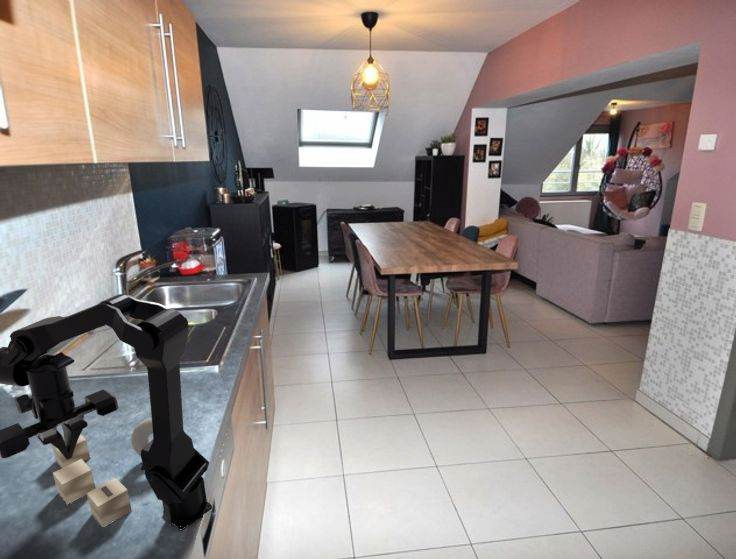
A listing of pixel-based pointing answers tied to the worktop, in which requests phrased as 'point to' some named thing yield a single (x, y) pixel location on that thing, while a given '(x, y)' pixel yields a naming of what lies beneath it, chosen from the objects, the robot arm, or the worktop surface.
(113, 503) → the one stroke block
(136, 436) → the donut
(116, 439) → the worktop surface
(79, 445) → the two stroke block
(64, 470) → the plain block
